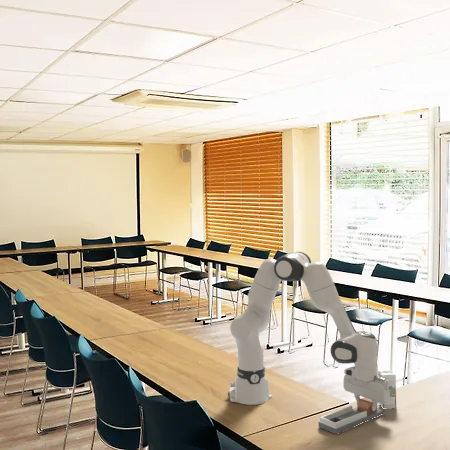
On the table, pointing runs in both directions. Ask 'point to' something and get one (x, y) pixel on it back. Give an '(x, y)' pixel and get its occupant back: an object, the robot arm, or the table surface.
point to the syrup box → (391, 380)
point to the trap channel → (346, 419)
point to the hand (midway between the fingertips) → (366, 407)
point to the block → (365, 405)
